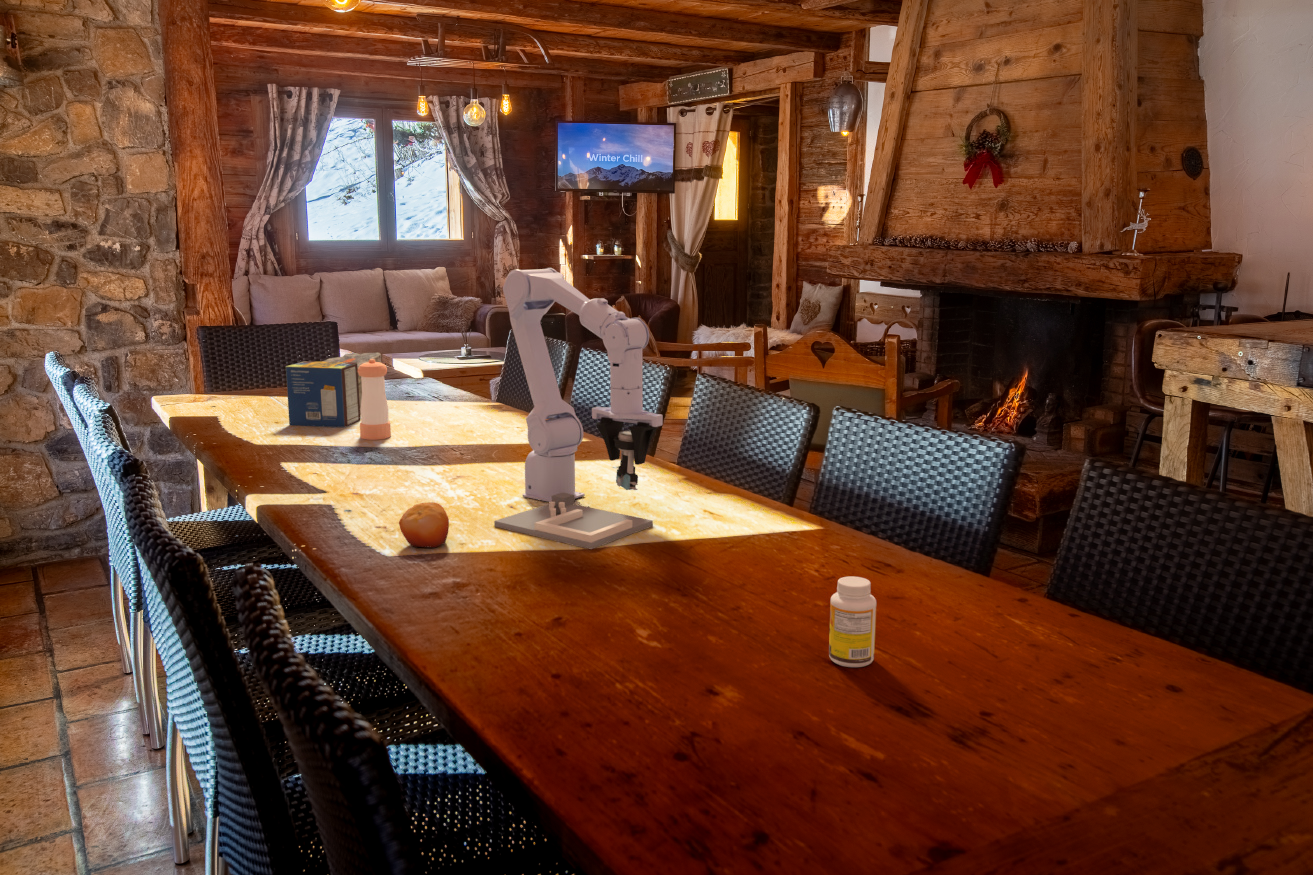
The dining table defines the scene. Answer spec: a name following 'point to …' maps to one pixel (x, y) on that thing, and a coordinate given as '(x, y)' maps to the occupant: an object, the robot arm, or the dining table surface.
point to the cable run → (560, 503)
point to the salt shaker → (374, 402)
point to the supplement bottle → (852, 623)
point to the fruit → (425, 525)
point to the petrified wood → (360, 360)
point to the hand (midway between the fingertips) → (627, 461)
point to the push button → (626, 461)
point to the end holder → (552, 527)
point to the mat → (573, 524)
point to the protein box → (323, 394)
